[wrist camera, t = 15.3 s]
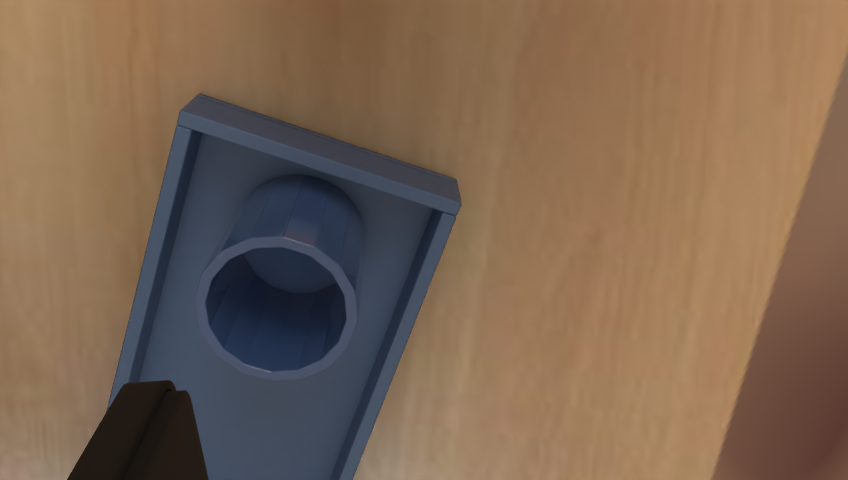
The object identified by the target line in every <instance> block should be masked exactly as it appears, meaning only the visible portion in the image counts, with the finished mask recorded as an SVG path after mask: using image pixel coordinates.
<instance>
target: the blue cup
mask: <svg viewBox="0 0 848 480" xmlns="http://www.w3.org/2000/svg"><path fill="white" fill-rule="evenodd" d="M365 250H366V248H365V228H364V224H363V220H362V217H361V215H360V213H359V211H358V209H357V207H356V206H355V204H354V203H353V201H352V200H351V199H350V198H349V197H348V196H347V195H346V194H345V193H344V192H343V191H342V190H340V189H339V188H338V187H336V186H335V185H333V184H331V183H329V182H328V181H325V180H323V179H320V178H317V177H313V176H308V175H286V176H281V177H277V178H274V179H271V180H269V181H267V182H265V183H263V184H261V185H260V186H258V187H257V188H256V189H254V190H253V191H252V192H251V193H250V194H249V195H248V196H247V198H246V199H245V200H244V202H243V203H242V205H241V206H240V207H239V208H238V210H237V212H236V213H235V215H234V217H233V219H232V220H231V222H230V224H229V226H228V228H227V229H226V231H225V233H224V235H223V236H222V238H221V240H220V242H219V244H218V245H217V247H216V249H215V251H214V252H213V254H212V256H211V258H210V260H209V261H208V263H207V265H206V267H205V268H204V270H203V272H202V274H201V277H200V280H199V284H198V287H197V291H196V295H195V298H194V306H195V311H196V317H197V322H198V328H199V329H200V332H201V334H202V335H203V337H204V338H205V340H206V341H207V343H208V344H209V346H210V347H211V349H212V350H213V352H214V353H215V354H216V355H217V356H218V357H220V358H221V359H222V360H224V361H225V362H227V363H228V364H230V365H231V366H232V367H234V368H235V369H237V370H238V371H239V372H242V373H245V374H248V375H252V376H255V377H259V378H263V379H266V380H271V381H274V380H292V379H302V378H304V377H307V376H309V375H311V374H314V373H316V372H318V371H321V370H323V369H325V368H327V367H329V366H330V365H331V364H332V363H333V362H334V361H335V360H336V359H337V358H338V357H339V356H340V355H341V354H342V353H343V352H344V351H345V350H346V349H347V348H348V346H349V344H350V341H351V338H352V335H353V333H354V330H355V327H356V324H357V322H358V313H359V304H360V295H361V286H362V277H363V268H364V259H365Z"/></svg>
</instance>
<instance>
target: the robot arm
mask: <svg viewBox="0 0 848 480" xmlns="http://www.w3.org/2000/svg"><path fill="white" fill-rule="evenodd" d="M67 480H209V478H208V474H207V469H206V465H205V460H204V455H203V451H202V446H201V442H200V437H199V433H198V428H197V424H196V419H195V415H194V410H193V405H192V401H191V398H190V395H189V393H188V391H186V390H180V391H177V390H176V387H175V385H174V384H173V382H172V381H170V380H162V381H148V382H133V383H126V384H124V385H123V386H122V387H121V389H120V390H119V392H118V394H117V395H116V397H115V399H114V401H113V402H112V404H111V406H110V407H109V409H108V411H107V412H106V414H105V416H104V418H103V419H102V421H101V423H100V424H99V426H98V428H97V429H96V431H95V433H94V435H93V436H92V438H91V440H90V441H89V443H88V445H87V446H86V448H85V450H84V452H83V453H82V455H81V457H80V458H79V460H78V462H77V463H76V465H75V467H74V469H73V470H72V472H71V474H70V475H69V477H68V479H67Z"/></svg>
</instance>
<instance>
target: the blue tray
mask: <svg viewBox="0 0 848 480" xmlns="http://www.w3.org/2000/svg"><path fill="white" fill-rule="evenodd" d="M177 124H178V125H177V126H176V129H175V133H174V138H173V142H172V146H171V150H170V154H169V158H168V162H167V166H166V170H165V174H164V179H163V183H162V187H161V191H160V195H159V199H158V203H157V207H156V211H155V215H154V220H153V224H152V228H151V232H150V236H149V240H148V244H147V248H146V252H145V256H144V260H143V265H142V269H141V273H140V277H139V281H138V285H137V289H136V293H135V297H134V301H133V306H132V310H131V314H130V318H129V322H128V326H127V330H126V334H125V338H124V342H123V346H122V351H121V355H120V359H119V363H118V367H117V371H116V375H115V379H114V383H113V387H112V392H111V396H110V400H109V404H108V408H107V411H108V409H109V407H110V406H111V404H112V402H113V401H114V399H115V397H116V395H117V394H118V392H119V390H120V389H121V387H122V386H123V385H124V384H126V383H133V382H148V381H162V380H170V381H172V382H173V384H174V385H175V387H176V390H177V391H180V390H186V391H188V393H189V395H190V398H191V401H192V405H193V410H194V415H195V419H196V424H197V428H198V433H199V437H200V442H201V446H202V451H203V455H204V460H205V465H206V469H207V474H208V478H209V480H353V477H354V475H355V472H356V470H357V467H358V464H359V462H360V459H361V457H362V454H363V452H364V449H365V447H366V444H367V442H368V439H369V437H370V434H371V432H372V429H373V427H374V424H375V421H376V419H377V416H378V414H379V411H380V409H381V406H382V404H383V401H384V399H385V396H386V394H387V391H388V389H389V386H390V384H391V381H392V378H393V376H394V373H395V371H396V368H397V366H398V363H399V361H400V358H401V356H402V353H403V351H404V348H405V346H406V343H407V341H408V338H409V335H410V333H411V330H412V328H413V325H414V323H415V320H416V318H417V315H418V313H419V310H420V308H421V305H422V303H423V300H424V298H425V295H426V293H427V290H428V287H429V285H430V282H431V280H432V277H433V275H434V272H435V270H436V267H437V265H438V262H439V260H440V257H441V255H442V252H443V250H444V247H445V244H446V242H447V239H448V237H449V234H450V232H451V229H452V227H453V224H454V222H455V219H456V216H457V214H458V212H459V209H460V207H461V198H460V193H459V189H458V184H457V180H456V179H453V178H450V177H447V176H444V175H441V174H438V173H435V172H432V171H429V170H426V169H423V168H420V167H417V166H414V165H411V164H408V163H405V162H402V161H399V160H396V159H393V158H390V157H387V156H384V155H381V154H378V153H375V152H372V151H369V150H366V149H363V148H360V147H357V146H354V145H351V144H348V143H345V142H342V141H339V140H336V139H333V138H330V137H327V136H324V135H321V134H318V133H315V132H312V131H309V130H306V129H303V128H300V127H297V126H294V125H291V124H288V123H285V122H282V121H279V120H276V119H273V118H271V117H268V116H265V115H262V114H259V113H256V112H253V111H250V110H247V109H244V108H241V107H238V106H235V105H232V104H229V103H226V102H223V101H220V100H217V99H214V98H211V97H208V96H205V95H202V94H199V95H197V96H196V97H195V98H194V99H193V100H192V101H191V102H189V103H188V104H187V105H186V106H185V107H184V108H183V109H181V110H180V113H179V117H178V121H177ZM286 175H308V176H313V177H317V178H320V179H323V180H325V181H328V182H329V183H331V184H333V185H335V186H336V187H338V188H339V189H340V190H342V191H343V192H344V193H345V194H346V195H347V196H348V197H349V198H350V199H351V200H352V201H353V203H354V204H355V206H356V207H357V209H358V211H359V213H360V215H361V217H362V220H363V224H364V228H365V248H366V250H365V259H364V268H363V277H362V286H361V295H360V304H359V313H358V322H357V324H356V327H355V330H354V333H353V335H352V338H351V341H350V344H349V346H348V348H347V349H346V350H345V351H344V352H343V353H342V354H341V355H340V356H339V357H338V358H337V359H336V360H335V361H334V362H333V363H332V364H331V365H330V366H329V367H327V368H325V369H323V370H321V371H318V372H316V373H314V374H311V375H309V376H307V377H304V378H302V379H292V380H274V381H271V380H266V379H263V378H259V377H255V376H252V375H248V374H245V373H242V372H239V371H238V370H237V369H235V368H234V367H232V366H231V365H230V364H228V363H227V362H225V361H224V360H222V359H221V358H220V357H218V356H217V355H216V354H215V353H214V352H213V350H212V349H211V347H210V346H209V344H208V343H207V341H206V340H205V338H204V337H203V335H202V334H201V332H200V329H199V328H198V322H197V317H196V311H195V306H194V298H195V295H196V291H197V287H198V284H199V280H200V277H201V274H202V272H203V270H204V268H205V267H206V265H207V263H208V261H209V260H210V258H211V256H212V254H213V252H214V251H215V249H216V247H217V245H218V244H219V242H220V240H221V238H222V236H223V235H224V233H225V231H226V229H227V228H228V226H229V224H230V222H231V220H232V219H233V217H234V215H235V213H236V212H237V210H238V208H239V207H240V206H241V205H242V203H243V202H244V200H245V199H246V198H247V196H248V195H249V194H250V193H251V192H252V191H253V190H254V189H256V188H257V187H258V186H260V185H261V184H263V183H265V182H267V181H269V180H271V179H274V178H277V177H281V176H286Z"/></svg>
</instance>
